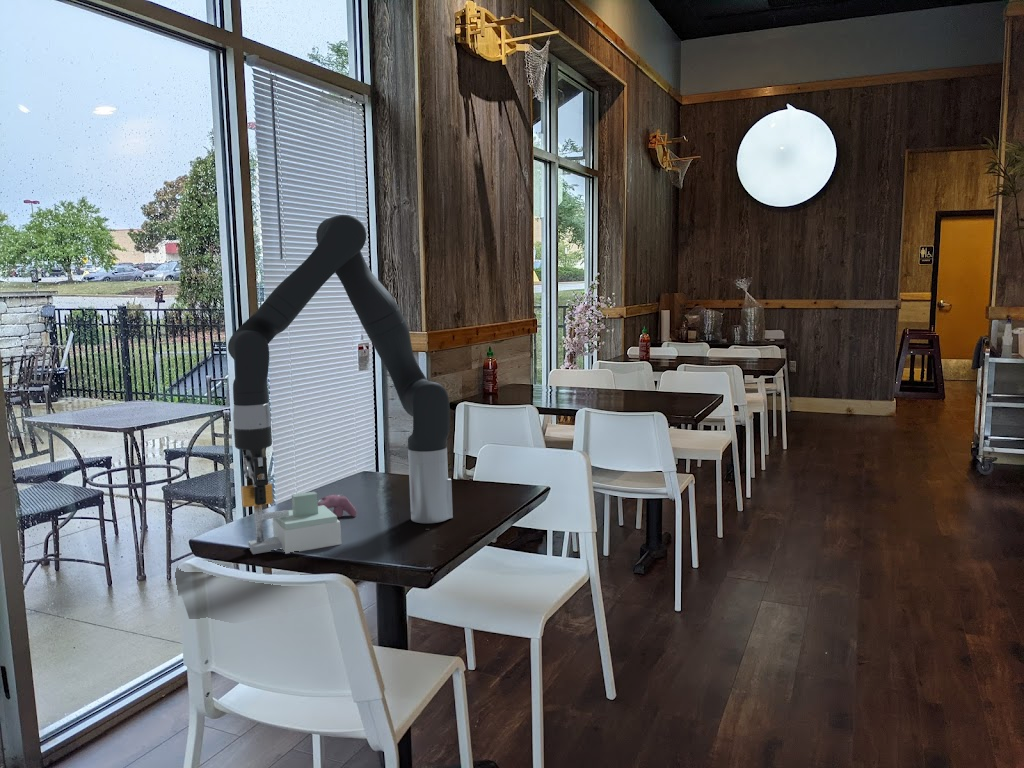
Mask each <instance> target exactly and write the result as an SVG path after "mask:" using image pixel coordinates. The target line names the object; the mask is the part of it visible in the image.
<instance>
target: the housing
mask: <svg viewBox="0 0 1024 768" xmlns="http://www.w3.org/2000/svg"><path fill="white" fill-rule="evenodd" d="M341 528H342V527H341V521H340V520H339V519H338V518H337V522H332V523H326V524H319V525H313V526H307V527H300V528H294V529H288V530H286V529H285V528H284V527H283V526H282V525H281V524H280V522H279V521H278V520H277V519H276V518H272V531H273V532H272V533H273V537H267V538H264V541H263V542H256V539H254V540H253V539H252V540H248V548H249V547H250V549H249V551H250V552H251V554H252V555H256V554H262V553H268V552H272V551H271V550H274V549H280V548H282V549H283V550H284V551H283V550H282V549H281V550H282V551H283V553H284V552H285V553H284V554H285V555H287V554H291V553H290V552H293V553H295V552H294V551H299V552H304V551H310V550H317V549H321V548H327V547H333V546H339V545H342V530H341Z"/></svg>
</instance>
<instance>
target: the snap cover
mask: <svg viewBox="0 0 1024 768" xmlns="http://www.w3.org/2000/svg"><path fill="white" fill-rule="evenodd" d="M318 500H319V499H318V493H317V492H316V491H309V492H301V493H296V494H295V493H294V494H291V501H292V502H291V507H292V509H289V510H288V509H287V510H288V511H289V516H285V517H279V518H276V519H277V520H278V521H279V522H280V524H281V525H282V526H283V527H284V528H285V529H286V530H288V529H294V528H300V527H307V526H313V525H319V524H326V523H332V522H337V519H338V518H337V516H336V515H335V514H334V513H333V511H331V510H330V508H329V509H328V508H327V507H325V506H324V505H322V506H318Z"/></svg>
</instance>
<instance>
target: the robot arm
mask: <svg viewBox="0 0 1024 768" xmlns="http://www.w3.org/2000/svg"><path fill="white" fill-rule="evenodd" d="M315 237H316V238H315V239H316V242H317V243H316V244H317V245H316V246H315V248H314V250H313V251H312V253H311V254H309V256H308V257H307V258H306V259H305V260H304V262H302V263H301V264H300V265H299V266H298V267H297V268H296V269H294V270H293V272H291V273H290V274H289V275H288V276H286V278H284V280H282V282H280V284H279V285H277V286H276V288H275V289H273V291H272V292H271V293H270V294H269V295H268V297H267V298H266V299H265V300H264V301H263V303H262V304H261V305H260V306H259V307H258V309H257V310H256V311H255V313H253V314H252V315H251V316H250V317H249V318H247V319H246V320H245V321H244V322H243V323H242V324H241V325H240V326H239V327H238V328H237V329H236V330H235V331H234V333H233V334H232V335H231V336H230V338H229V340H228V345H227V350H228V354H229V356H230V357H231V358H232V359H233V360H234V362H235V378H234V379H233V384H232V395H233V398H232V399H233V413H232V414H233V415H232V417H233V419H232V421H233V437H234V447H235V448H236V449H237V450H242V459H243V460H242V461H243V464H242V465H243V471H242V472H243V475H244V478H245V480H246V486H248V485H253V486H254V498H255V504H256V505H263V504H264V505H267V504H266V489H265V486H266V485H268V483H269V479H268V461H267V460H268V458H267V456H265V455H264V454H263V449H266V448H269V447H271V446H272V444H273V437H272V436H273V435H272V433H273V432H272V418H271V416H272V415H271V409H270V405H269V404H270V402H269V400H270V399H269V389H268V388H269V386H268V377H269V376H268V375H269V369H270V368H269V367H270V349H269V343H271V341H272V340H273V339H274V338H275V337H276V336H277V335H279V334H280V333H282V332H284V331H285V330H286V329H287V328H288V327H289V326H290V325H291V324H292V322H293V321H294V320H295V319H296V318H297V316H298V315H299V314H300V313H301V312H302V311H303V309H304V308H305V307H306V306H307V304H308V303H309V302H310V301H311V299H313V297H314V296H315V295H316V294H317V292H319V290H320V289H321V288H322V287H323V285H324V284H325V283H326V282H327V281H328V280H329V279H330V278H332V276H333V275H334V274H336V276H337V277H338V280H339V281H340V284H341V285H342V286H343V288H344V290H345V293H346V295H347V297H348V299H349V301H350V303H351V305H352V307H353V309H354V311H355V313H356V315H357V318H358V320H359V321H360V323H361V326H362V327H363V330H364V331H365V333H366V335H367V336H368V338H369V340H370V342H371V344H372V345H373V347H374V349H375V351H376V353H377V355H378V356H379V358H380V360H381V362H382V363H383V365H384V366H385V368H386V370H387V372H388V374H389V376H390V378H391V381H392V383H393V386H394V388H395V391H396V393H397V395H398V398H399V401H400V404H401V406H402V408H403V410H404V411H405V412H406V413H407V414H408V415H410V416H411V417H413V418H412V419H413V420H412V423H413V424H412V433H411V434H410V435H409V436H408V438H407V456H408V458H407V459H408V476H409V477H408V478H409V480H408V481H409V499H410V500H409V503H410V520H411V522H414V523H419V524H436V523H441V522H445V521H447V520H449V519H453V518H454V515H453V513H454V512H453V511H454V510H453V491H452V490H453V489H452V488H453V486H452V479H451V478H449V472H448V470H449V468H448V467H449V466H448V464H449V463H448V438H449V436H450V428H451V426H450V423H451V422H450V418H451V417H450V415H451V414H450V413H451V412H450V397H449V393H448V391H447V390H446V388H445V387H444V386H443V385H442V384H440V383H438V382H435V381H430V380H428V378H427V377H426V376H425V374H424V372H423V371H422V369H421V368H420V365H419V363H418V362H417V360H416V357H415V354H414V350H413V346H412V345H413V344H412V339H411V332H410V330H409V327H408V324H407V321H406V319H405V316H404V315H403V313H402V311H401V309H400V307H399V306H398V304H397V302H396V300H395V299H394V297H393V296H392V295H391V293H390V292H389V291H388V290H387V288H386V287H385V286H384V285H383V284H382V282H381V281H380V280H379V279H378V278H377V277H376V276H375V275H374V273H373V272H372V270H371V268H369V266H368V264H367V262H366V259H365V257H364V255H363V253H362V251H361V250H362V249H363V248H364V246H365V244H366V241H367V230H366V227H365V225H364V223H363V222H362V221H361V220H360V219H359V218H357V216H354V215H351V214H338V215H335V216H332V217H328V218H326V219H324V220H323V221H321V222H320V224H319V225H318V227H317V229H316V235H315ZM259 478H261V479H259Z"/></svg>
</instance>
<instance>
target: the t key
mask: <svg viewBox="0 0 1024 768" xmlns="http://www.w3.org/2000/svg"><path fill="white" fill-rule="evenodd" d="M265 489H266V504H263V505H270V504H274V497H273V484H272V483H271V482H268V485H266V486H265ZM240 491H241V492H240V494H241V496H240V497H241V506H242V507H243V508H249V507H253V513H254V527H255V528H254V529H255V540H256V542H263V541H264V539H265V537H264V536H265V535H264V525H263V523H264V522H263V521H264V520H270V519H271V520H273V518H279V517H285V516H289V511H288V509H283V510H277V511H271V512H270V511H269V512H264V513H263V506H262V505H256V504H255V498H254V486H253V485H248V486H247V485H242V486H240Z"/></svg>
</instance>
